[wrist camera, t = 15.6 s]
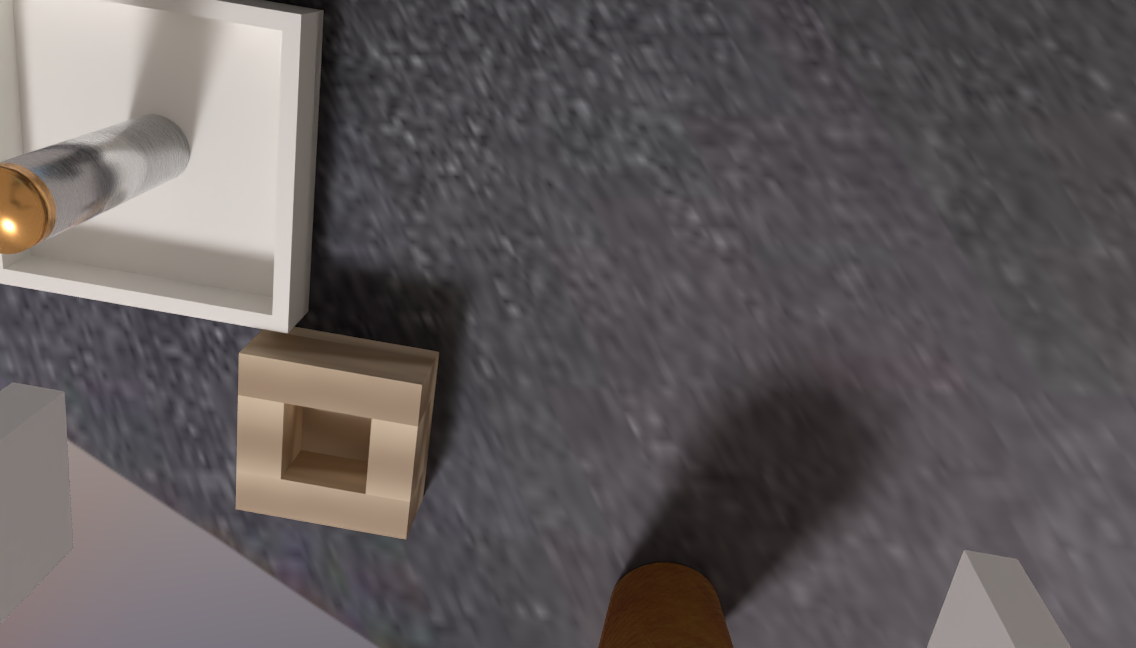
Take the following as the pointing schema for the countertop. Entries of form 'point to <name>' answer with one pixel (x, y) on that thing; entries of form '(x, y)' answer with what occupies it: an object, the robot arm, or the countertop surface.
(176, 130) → the pin
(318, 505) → the socket block
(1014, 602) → the robot arm
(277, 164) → the rectangular frame
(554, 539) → the countertop surface
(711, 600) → the disposable coffee cup
